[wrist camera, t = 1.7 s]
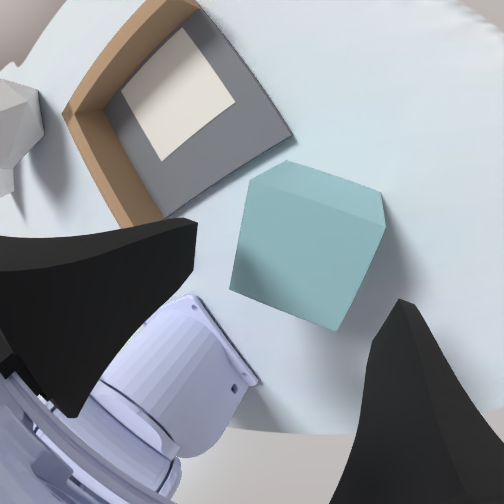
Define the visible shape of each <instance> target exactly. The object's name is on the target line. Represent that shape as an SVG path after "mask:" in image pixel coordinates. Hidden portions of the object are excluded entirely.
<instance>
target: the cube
mask: <svg viewBox="0 0 504 504" xmlns="http://www.w3.org/2000/svg"><path fill="white" fill-rule="evenodd" d="M385 228H386V224H385V217H384V210H383V204H382V197H381V192H379V191H376V190H373V189H371V188H368V187H365V186H363V185H360V184H357V183H355V182H352V181H349V180H346V179H343V178H340V177H337V176H335V175H332V174H329V173H326V172H323V171H319V170H316V169H313V168H310V167H307V166H304V165H300V164H297V163H294V162H290V161H287V160H286V161H284V162H283V163H281V164H279V165H277V166H275V167H273V168H271V169H269V170H267V171H266V172H264V173H262V174H260V175H258V176H256V177H254V178H253V179H251V180H250V181H249V186H248V192H247V197H246V202H245V207H244V212H243V218H242V223H241V228H240V233H239V239H238V244H237V250H236V255H235V260H234V266H233V271H232V277H231V282H230V288H229V289H230V290H232V291H234V292H237V293H239V294H242V295H244V296H246V297H249V298H251V299H254V300H256V301H258V302H261V303H263V304H266V305H268V306H271V307H273V308H276V309H278V310H281V311H283V312H286V313H288V314H291V315H293V316H296V317H299V318H301V319H304V320H306V321H309V322H312V323H314V324H317V325H319V326H322V327H325V328H327V329H330V330H333V331H335V332H337V330H338V328H339V326H340V324H341V323H342V321H343V319H344V317H345V315H346V313H347V311H348V309H349V307H350V305H351V303H352V301H353V299H354V297H355V295H356V293H357V291H358V289H359V287H360V285H361V283H362V281H363V279H364V276H365V274H366V272H367V270H368V268H369V266H370V263H371V261H372V259H373V257H374V254H375V252H376V250H377V248H378V245H379V243H380V240H381V238H382V236H383V233H384V231H385Z"/></svg>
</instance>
